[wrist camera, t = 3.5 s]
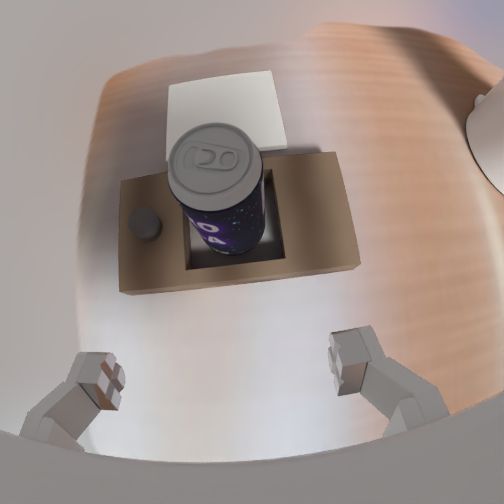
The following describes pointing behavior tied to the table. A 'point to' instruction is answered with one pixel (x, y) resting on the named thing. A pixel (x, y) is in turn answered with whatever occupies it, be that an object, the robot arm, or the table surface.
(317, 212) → the base
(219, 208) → the beverage can
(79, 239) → the table surface
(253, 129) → the pad
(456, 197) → the table surface
